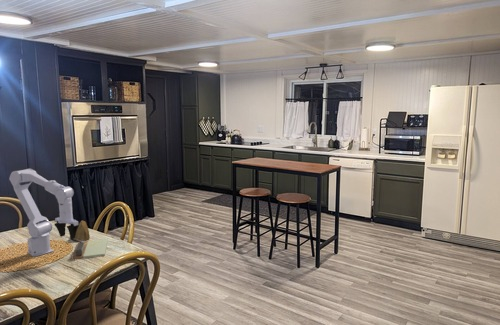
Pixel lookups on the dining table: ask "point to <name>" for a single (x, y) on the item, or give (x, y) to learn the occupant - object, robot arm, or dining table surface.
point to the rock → (82, 231)
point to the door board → (92, 249)
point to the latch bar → (79, 249)
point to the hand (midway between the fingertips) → (67, 237)
